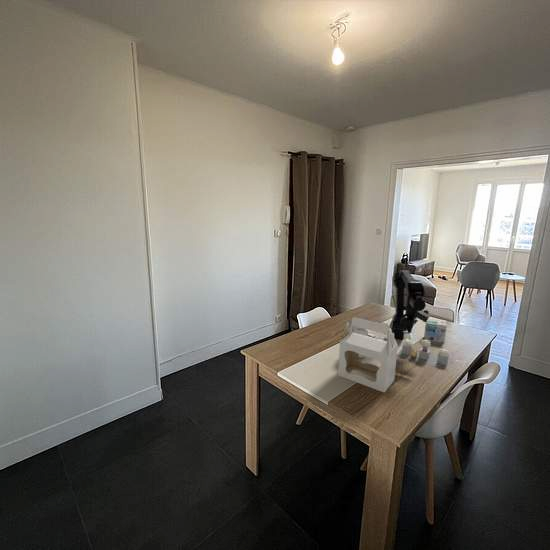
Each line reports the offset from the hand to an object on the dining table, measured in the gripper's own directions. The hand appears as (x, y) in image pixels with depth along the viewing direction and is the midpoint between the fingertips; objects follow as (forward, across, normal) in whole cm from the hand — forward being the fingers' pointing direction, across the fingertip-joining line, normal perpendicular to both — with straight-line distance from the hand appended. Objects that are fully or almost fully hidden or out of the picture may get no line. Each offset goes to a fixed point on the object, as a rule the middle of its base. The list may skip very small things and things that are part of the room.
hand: (409, 333), depth 156 cm
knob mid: (+8, 0, -8) cm, 11 cm away
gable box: (+13, -36, +9) cm, 39 cm away
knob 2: (+11, 0, -17) cm, 20 cm away
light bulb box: (+13, +32, -8) cm, 35 cm away
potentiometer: (+12, -4, -4) cm, 13 cm away
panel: (+12, 0, -8) cm, 15 cm away
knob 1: (+11, 0, 0) cm, 11 cm away
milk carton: (+13, -16, +20) cm, 29 cm away
